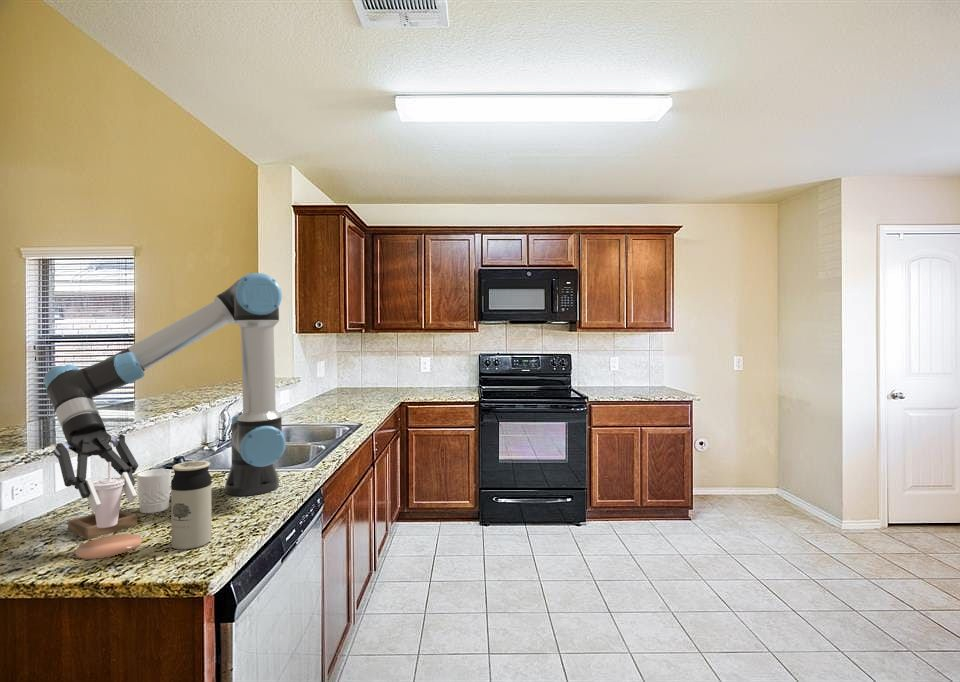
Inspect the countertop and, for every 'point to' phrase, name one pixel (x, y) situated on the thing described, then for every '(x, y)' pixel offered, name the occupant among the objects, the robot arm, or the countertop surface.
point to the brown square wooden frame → (89, 528)
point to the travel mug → (190, 505)
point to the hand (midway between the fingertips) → (115, 503)
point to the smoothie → (108, 499)
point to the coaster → (108, 546)
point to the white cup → (154, 490)
